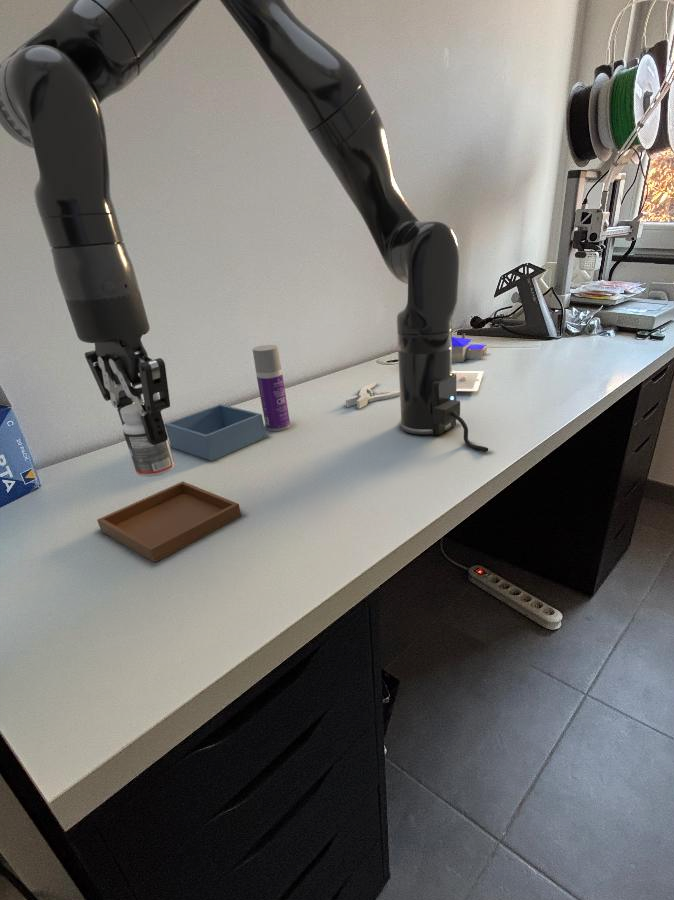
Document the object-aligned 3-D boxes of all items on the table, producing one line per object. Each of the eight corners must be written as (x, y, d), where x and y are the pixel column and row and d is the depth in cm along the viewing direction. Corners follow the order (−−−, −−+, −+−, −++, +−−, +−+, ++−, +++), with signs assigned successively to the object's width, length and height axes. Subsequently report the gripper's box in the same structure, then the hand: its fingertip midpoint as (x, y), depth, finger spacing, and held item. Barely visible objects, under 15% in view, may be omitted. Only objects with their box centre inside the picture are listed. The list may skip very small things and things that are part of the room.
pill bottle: (143, 463, 70) (123, 402, 66) (179, 460, 70) (162, 399, 66) (131, 479, 66) (110, 415, 62) (169, 475, 66) (151, 411, 62)
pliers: (409, 382, 117) (371, 403, 106) (409, 389, 118) (372, 410, 107) (372, 378, 122) (332, 397, 111) (373, 385, 123) (333, 404, 112)
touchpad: (440, 395, 113) (440, 385, 112) (450, 375, 125) (450, 366, 124) (477, 396, 111) (477, 386, 110) (483, 376, 123) (483, 366, 122)
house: (476, 365, 132) (477, 342, 129) (422, 363, 137) (421, 341, 134) (486, 354, 141) (487, 332, 138) (435, 352, 146) (434, 331, 143)
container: (285, 431, 100) (272, 350, 92) (262, 431, 101) (247, 351, 93) (293, 422, 104) (282, 344, 96) (271, 422, 105) (258, 344, 97)
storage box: (266, 437, 98) (261, 414, 96) (211, 461, 90) (205, 436, 87) (225, 425, 105) (220, 403, 102) (170, 447, 96) (164, 423, 94)
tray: (241, 515, 73) (238, 503, 72) (155, 562, 64) (150, 549, 63) (185, 492, 80) (182, 481, 79) (101, 531, 71) (96, 519, 70)
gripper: (169, 288, 56) (206, 439, 64) (103, 285, 64) (143, 419, 72) (101, 300, 51) (150, 461, 59) (37, 294, 59) (89, 437, 67)
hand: (146, 437), depth 66 cm, fingers closed on pill bottle, 4 cm apart
